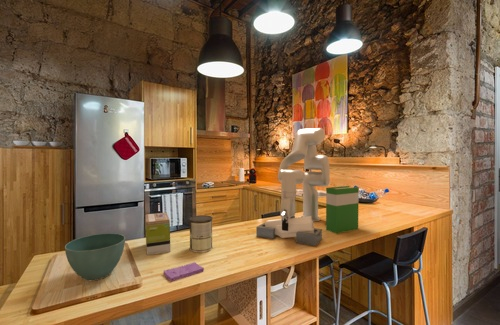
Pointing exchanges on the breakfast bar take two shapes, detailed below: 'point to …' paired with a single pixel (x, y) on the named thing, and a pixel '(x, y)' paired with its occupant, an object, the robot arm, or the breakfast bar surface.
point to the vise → (300, 236)
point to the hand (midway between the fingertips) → (288, 228)
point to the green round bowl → (95, 254)
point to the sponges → (183, 271)
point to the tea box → (157, 233)
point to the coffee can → (200, 233)
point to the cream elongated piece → (292, 226)
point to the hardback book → (342, 209)
